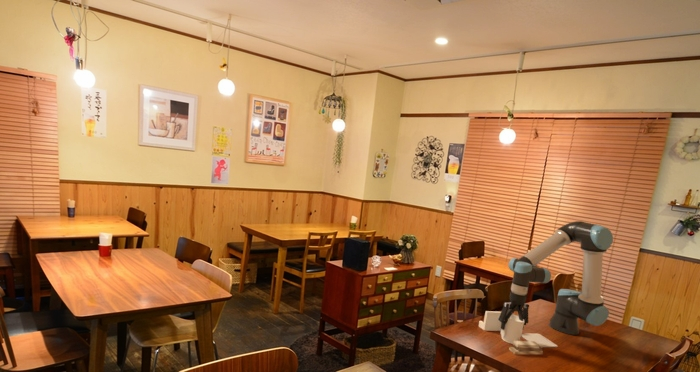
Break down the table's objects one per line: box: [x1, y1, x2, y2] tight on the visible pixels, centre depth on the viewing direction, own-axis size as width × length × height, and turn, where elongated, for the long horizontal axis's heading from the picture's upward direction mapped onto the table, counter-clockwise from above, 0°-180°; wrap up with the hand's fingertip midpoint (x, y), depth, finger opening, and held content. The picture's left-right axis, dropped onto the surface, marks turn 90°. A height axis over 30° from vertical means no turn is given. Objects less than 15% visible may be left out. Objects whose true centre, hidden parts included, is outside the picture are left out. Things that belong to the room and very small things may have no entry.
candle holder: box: [500, 313, 525, 345], centre depth 186 cm, size 10×10×12 cm
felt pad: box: [521, 332, 559, 348], centre depth 192 cm, size 13×13×1 cm
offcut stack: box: [508, 340, 544, 355], centre depth 176 cm, size 16×5×4 cm, turn 106°
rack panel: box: [478, 310, 514, 332], centre depth 199 cm, size 16×5×10 cm, turn 106°
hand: (510, 335), depth 186 cm, fingers closed on candle holder, 9 cm apart
